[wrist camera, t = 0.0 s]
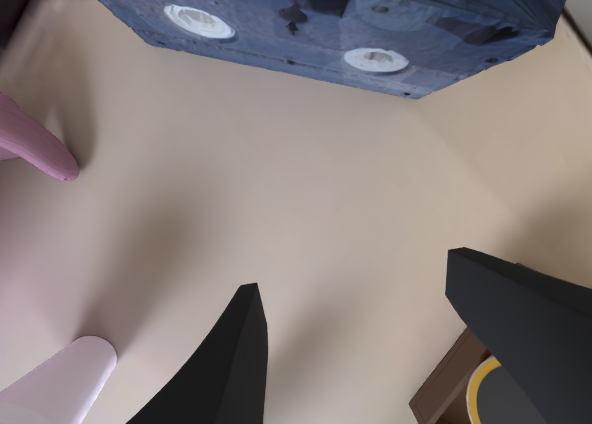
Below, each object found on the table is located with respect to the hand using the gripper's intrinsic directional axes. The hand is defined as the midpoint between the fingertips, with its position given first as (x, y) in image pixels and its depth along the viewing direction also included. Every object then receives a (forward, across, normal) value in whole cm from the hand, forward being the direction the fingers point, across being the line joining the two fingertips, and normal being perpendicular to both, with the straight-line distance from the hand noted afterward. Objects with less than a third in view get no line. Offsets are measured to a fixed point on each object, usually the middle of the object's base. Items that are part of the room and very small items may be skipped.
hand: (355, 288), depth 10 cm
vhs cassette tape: (+12, 0, -10) cm, 16 cm away
